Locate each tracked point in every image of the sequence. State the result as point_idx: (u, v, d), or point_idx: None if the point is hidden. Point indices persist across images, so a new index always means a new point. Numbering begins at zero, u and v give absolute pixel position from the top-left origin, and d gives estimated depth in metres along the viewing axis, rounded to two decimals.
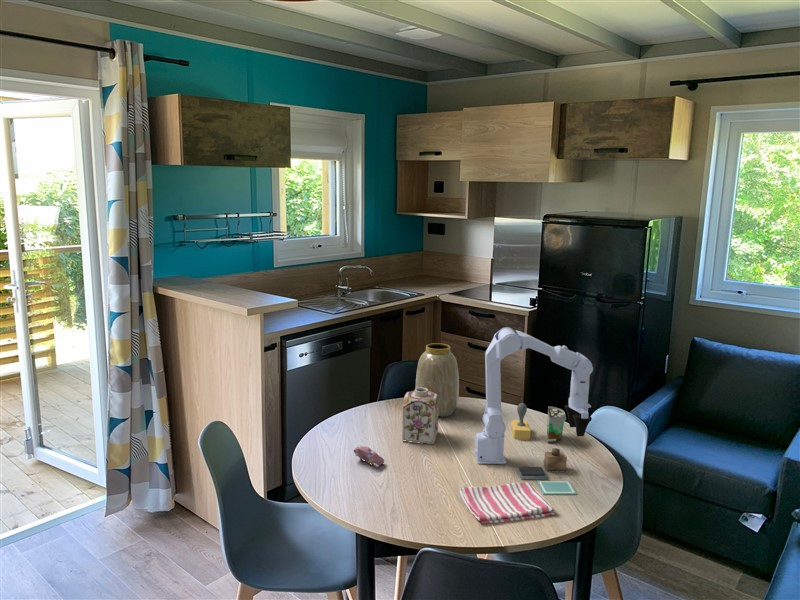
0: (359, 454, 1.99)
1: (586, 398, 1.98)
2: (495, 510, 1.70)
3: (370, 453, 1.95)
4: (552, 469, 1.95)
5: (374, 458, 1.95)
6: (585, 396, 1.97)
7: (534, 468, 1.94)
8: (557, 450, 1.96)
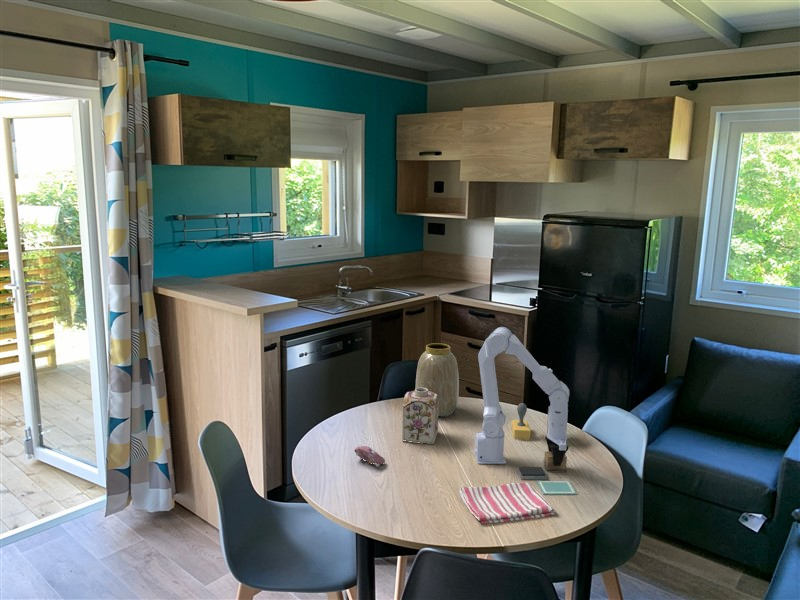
0: (360, 454, 1.99)
1: (564, 429, 1.92)
2: (495, 510, 1.70)
3: (371, 453, 1.96)
4: (552, 469, 1.95)
5: (375, 458, 1.95)
6: (563, 427, 1.92)
7: (534, 468, 1.94)
8: None
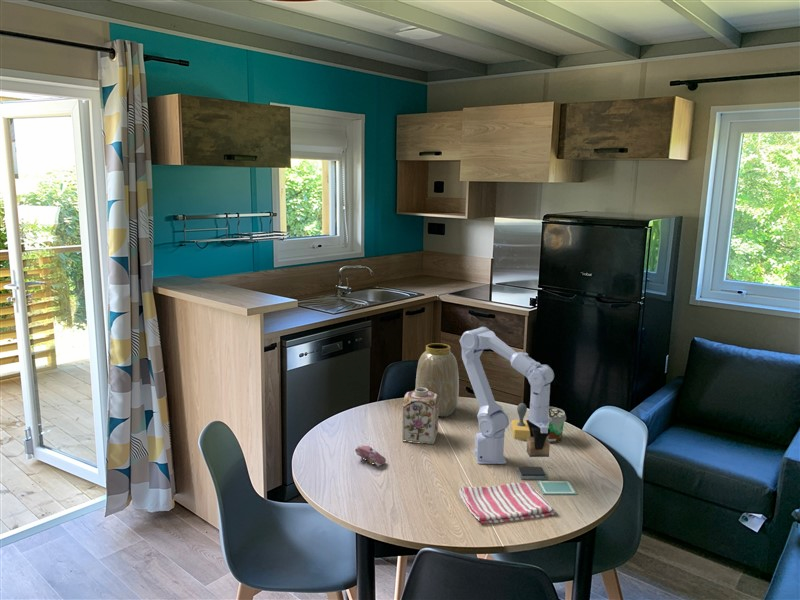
0: (360, 453, 2.00)
1: (546, 412, 1.87)
2: (495, 510, 1.70)
3: (372, 452, 1.96)
4: (535, 454, 1.90)
5: (376, 457, 1.95)
6: (545, 409, 1.87)
7: (534, 468, 1.94)
8: None
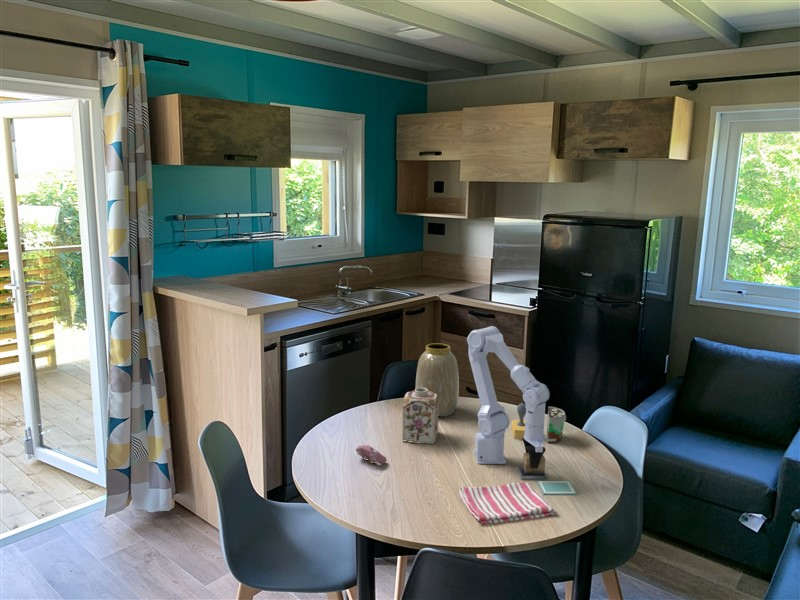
0: (361, 453, 2.00)
1: (541, 430, 1.87)
2: (495, 510, 1.70)
3: (372, 452, 1.96)
4: (530, 471, 1.90)
5: (376, 457, 1.96)
6: (540, 428, 1.87)
7: None
8: None
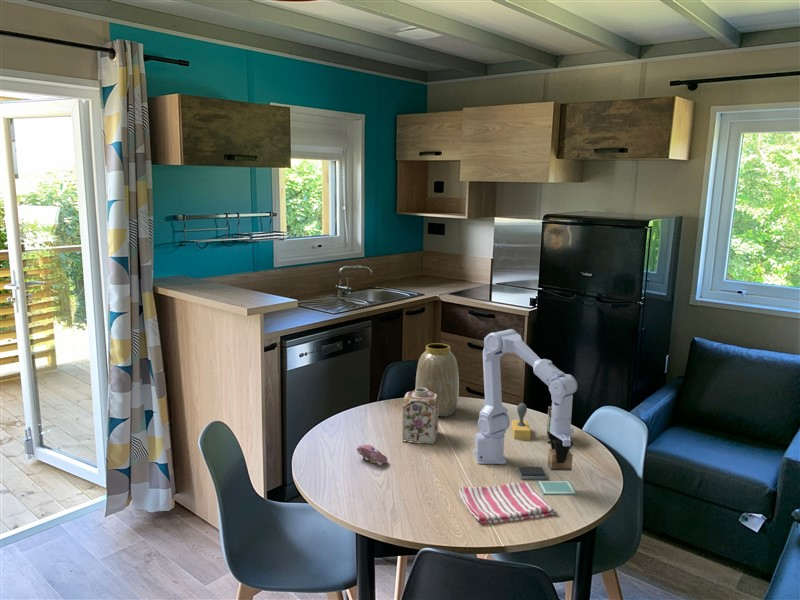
0: (362, 452, 2.00)
1: (568, 423, 1.78)
2: (494, 510, 1.70)
3: (373, 451, 1.96)
4: (557, 468, 1.81)
5: (377, 456, 1.96)
6: (567, 421, 1.78)
7: (534, 468, 1.94)
8: None
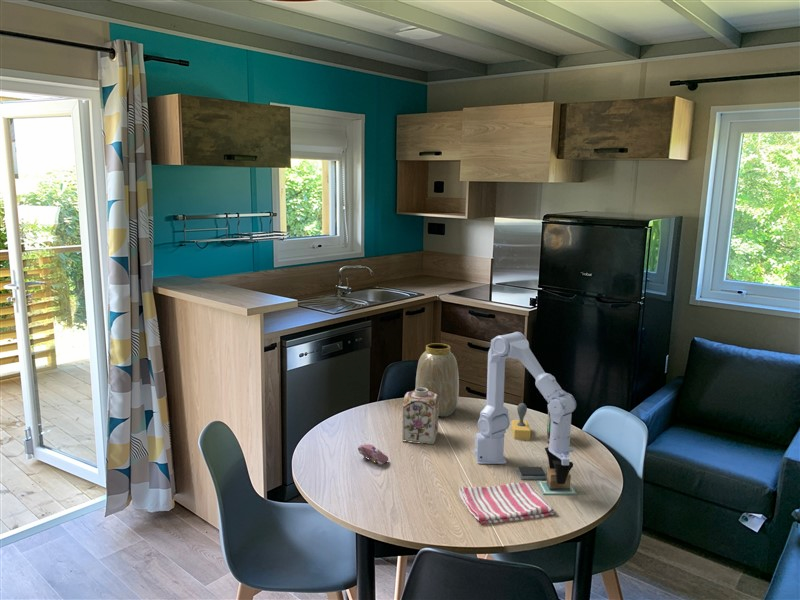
0: (363, 452, 2.01)
1: (567, 442, 1.79)
2: (494, 510, 1.70)
3: (374, 451, 1.97)
4: (555, 487, 1.82)
5: (378, 456, 1.96)
6: (566, 440, 1.79)
7: (534, 468, 1.94)
8: None
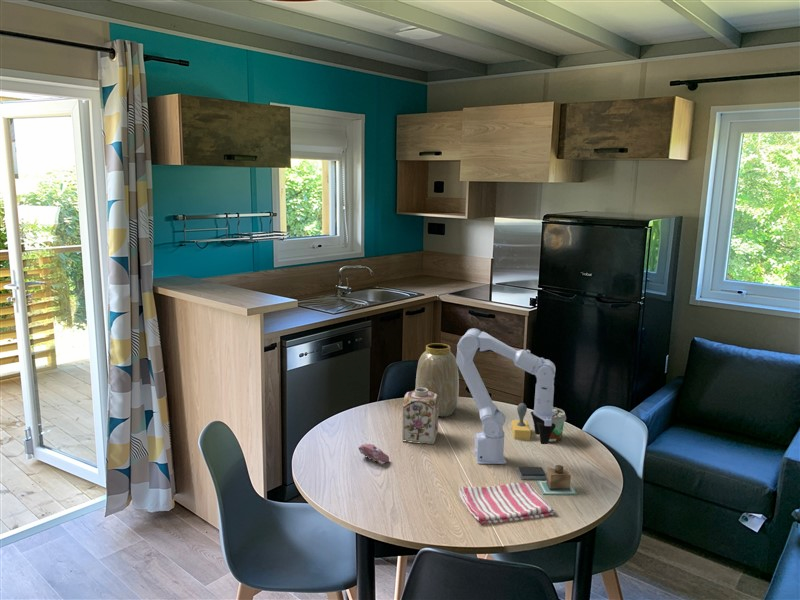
0: (364, 452, 2.01)
1: (550, 405, 1.93)
2: (494, 510, 1.70)
3: (375, 450, 1.97)
4: (555, 487, 1.82)
5: (379, 455, 1.97)
6: (549, 403, 1.92)
7: (534, 468, 1.94)
8: (560, 467, 1.83)
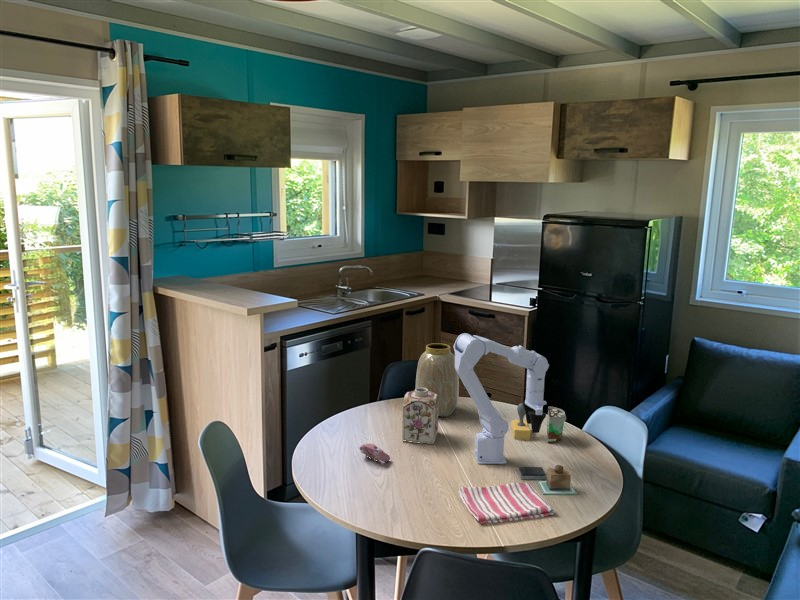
0: (365, 451, 2.01)
1: (541, 395, 2.02)
2: (494, 510, 1.70)
3: (376, 450, 1.98)
4: (555, 487, 1.82)
5: (380, 455, 1.97)
6: (540, 393, 2.01)
7: (534, 468, 1.94)
8: (560, 467, 1.83)
